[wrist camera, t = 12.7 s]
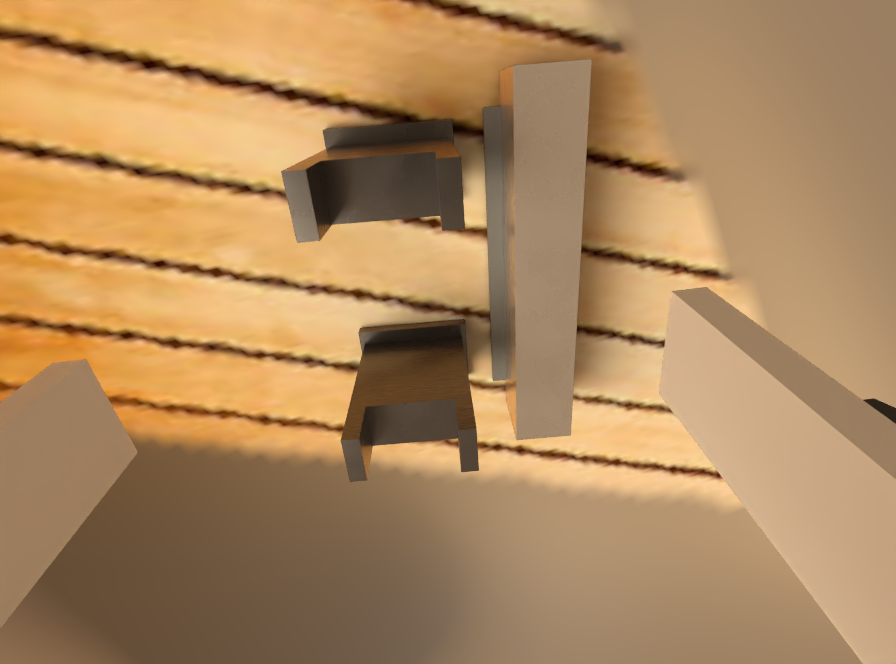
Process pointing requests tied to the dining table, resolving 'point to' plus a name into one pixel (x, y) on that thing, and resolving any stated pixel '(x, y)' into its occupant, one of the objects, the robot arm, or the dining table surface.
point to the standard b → (410, 393)
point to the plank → (495, 237)
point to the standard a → (377, 178)
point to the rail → (542, 237)
